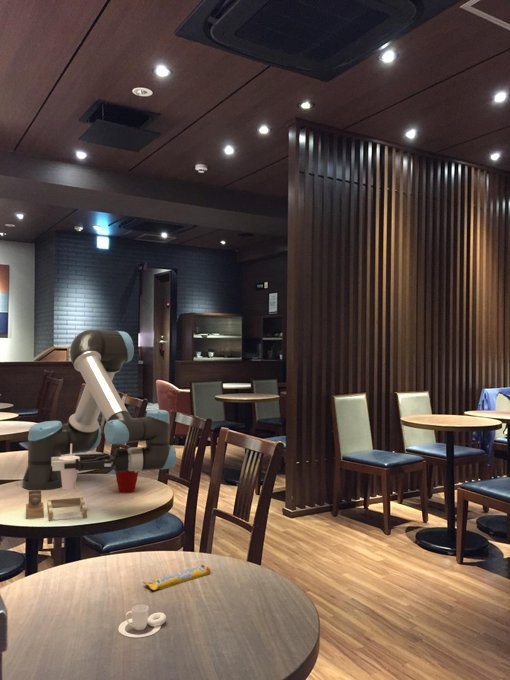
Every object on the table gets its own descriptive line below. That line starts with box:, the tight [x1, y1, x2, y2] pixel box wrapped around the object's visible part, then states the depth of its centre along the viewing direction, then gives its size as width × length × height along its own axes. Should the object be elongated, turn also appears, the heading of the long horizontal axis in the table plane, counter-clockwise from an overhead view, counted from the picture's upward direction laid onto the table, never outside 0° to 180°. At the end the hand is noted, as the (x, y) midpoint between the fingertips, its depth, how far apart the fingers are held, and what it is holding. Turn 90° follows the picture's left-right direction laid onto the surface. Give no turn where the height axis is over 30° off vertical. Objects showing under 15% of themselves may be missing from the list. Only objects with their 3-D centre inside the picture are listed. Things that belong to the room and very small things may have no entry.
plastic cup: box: [114, 470, 139, 494], centre depth 210 cm, size 11×11×12 cm
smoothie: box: [59, 444, 80, 491], centre depth 179 cm, size 6×6×14 cm
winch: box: [25, 490, 45, 520], centre depth 179 cm, size 6×5×7 cm
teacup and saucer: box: [117, 604, 167, 639], centre depth 110 cm, size 9×8×4 cm
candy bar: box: [142, 563, 212, 591], centre depth 132 cm, size 17×4×2 cm, turn 131°
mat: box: [53, 511, 83, 521], centre depth 178 cm, size 6×8×1 cm
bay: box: [46, 496, 88, 522], centre depth 182 cm, size 15×11×2 cm
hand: (52, 463), depth 178 cm, fingers closed on smoothie, 6 cm apart
